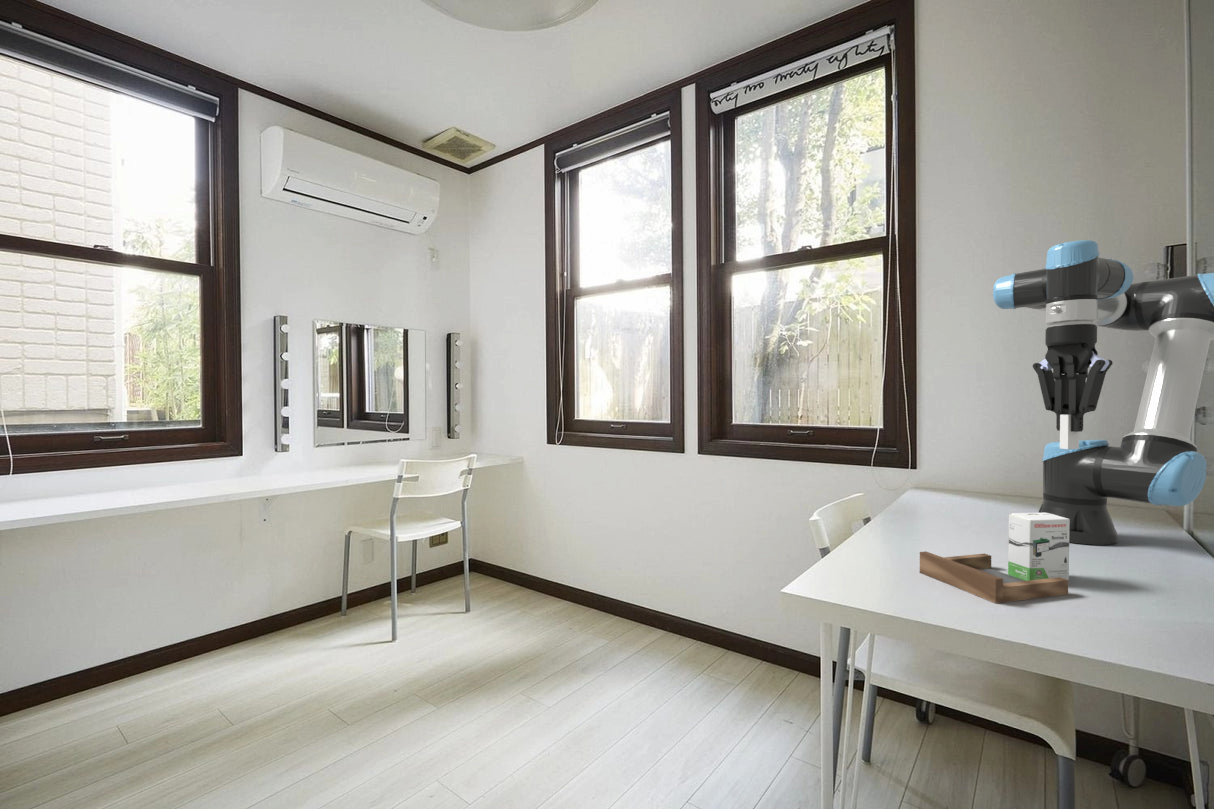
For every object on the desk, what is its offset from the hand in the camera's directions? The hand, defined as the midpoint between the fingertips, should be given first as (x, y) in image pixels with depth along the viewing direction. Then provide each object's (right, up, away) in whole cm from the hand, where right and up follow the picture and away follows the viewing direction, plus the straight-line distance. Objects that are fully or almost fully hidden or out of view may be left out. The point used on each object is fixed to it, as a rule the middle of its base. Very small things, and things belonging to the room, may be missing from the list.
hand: (1069, 448), depth 105 cm
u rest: (-18, -24, -4) cm, 31 cm away
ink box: (-7, -24, -2) cm, 26 cm away
